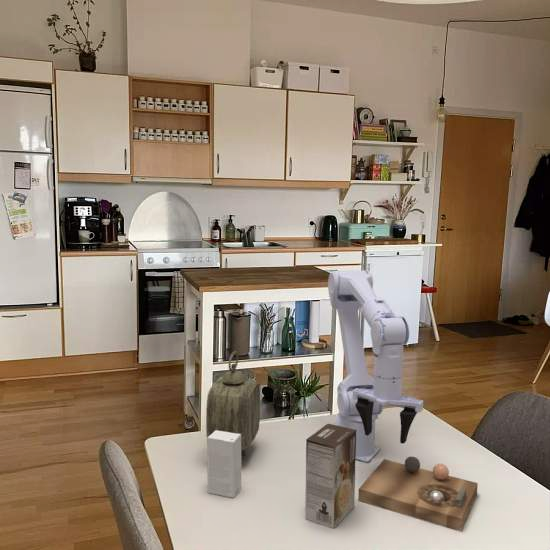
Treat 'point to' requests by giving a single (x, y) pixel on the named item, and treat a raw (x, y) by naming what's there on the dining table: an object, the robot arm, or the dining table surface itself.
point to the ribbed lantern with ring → (234, 406)
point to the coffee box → (330, 474)
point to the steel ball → (437, 496)
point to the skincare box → (224, 463)
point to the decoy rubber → (412, 464)
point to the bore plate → (419, 494)
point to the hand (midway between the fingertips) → (385, 437)
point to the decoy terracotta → (440, 471)
